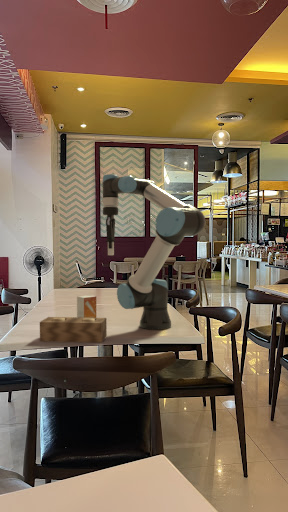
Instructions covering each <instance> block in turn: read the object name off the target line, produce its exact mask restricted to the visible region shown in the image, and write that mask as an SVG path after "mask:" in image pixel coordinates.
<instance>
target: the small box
mask: <svg viewBox="0 0 288 512" xmlns="http://www.w3.org/2000/svg"><path fill="white" fill-rule="evenodd" d="M76 317H84V318H97V296H96V295H89V294H88V295H81V296H76Z"/></svg>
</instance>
